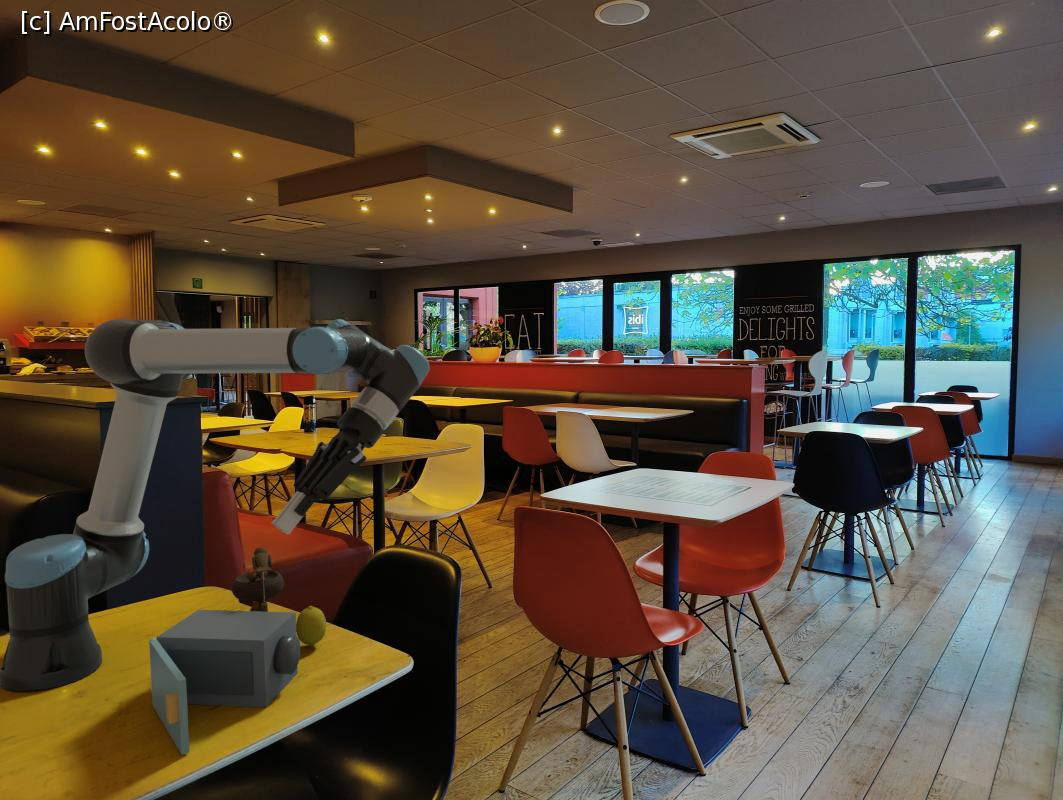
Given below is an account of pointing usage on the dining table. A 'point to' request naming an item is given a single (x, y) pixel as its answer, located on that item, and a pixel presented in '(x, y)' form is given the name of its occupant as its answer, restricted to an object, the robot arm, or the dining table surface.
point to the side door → (169, 695)
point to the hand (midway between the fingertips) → (280, 528)
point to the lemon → (311, 626)
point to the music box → (258, 583)
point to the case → (234, 655)
